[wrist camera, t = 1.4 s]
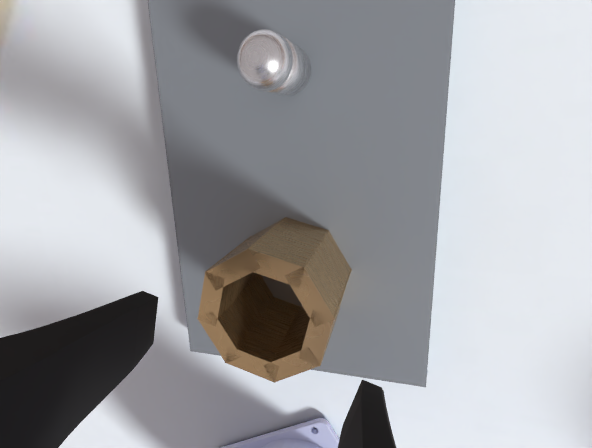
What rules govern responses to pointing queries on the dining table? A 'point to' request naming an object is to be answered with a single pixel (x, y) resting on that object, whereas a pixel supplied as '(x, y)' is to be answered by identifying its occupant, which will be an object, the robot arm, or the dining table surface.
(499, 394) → the dining table surface
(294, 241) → the bronze ring
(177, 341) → the dining table surface
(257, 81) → the steel pin
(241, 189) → the slate block
